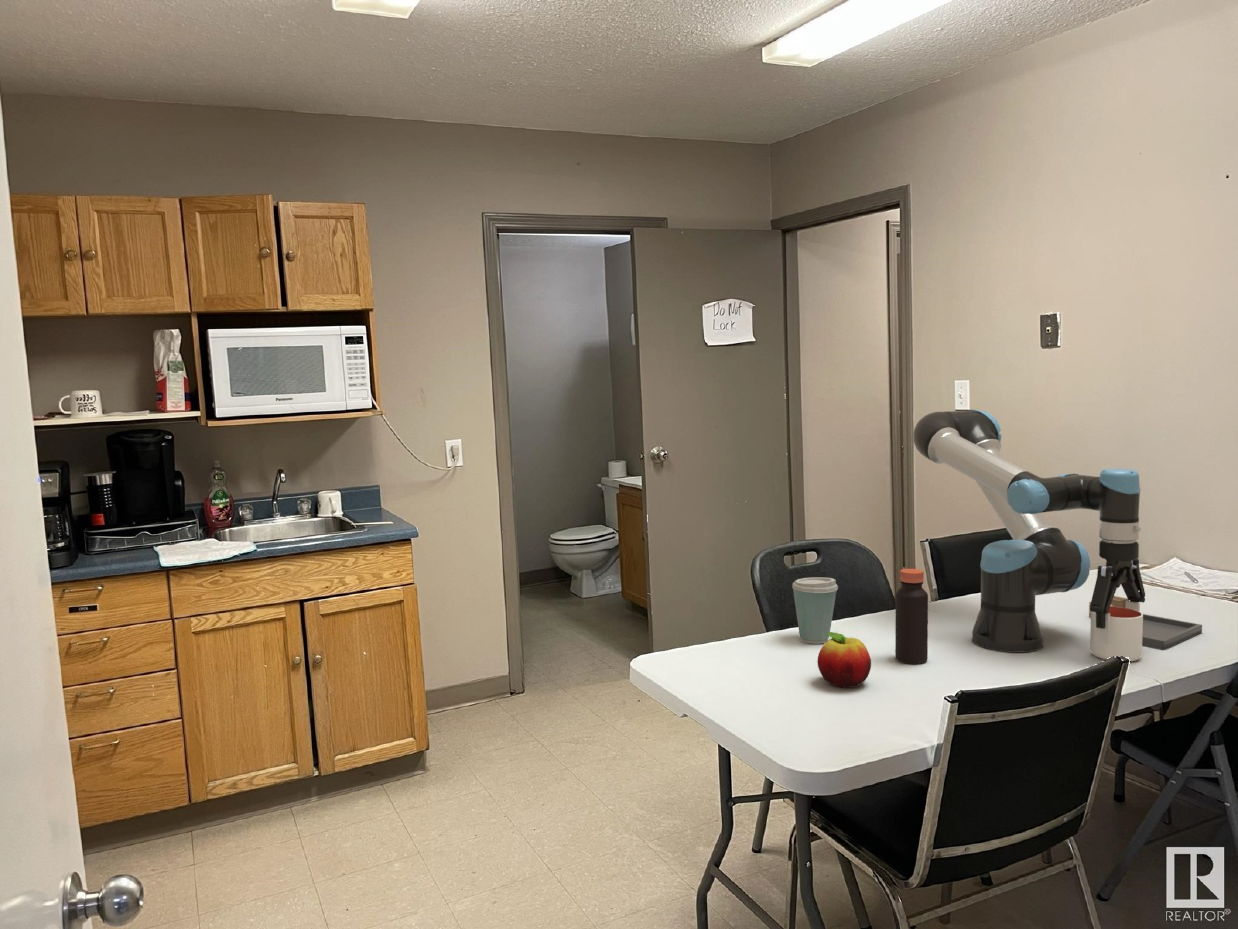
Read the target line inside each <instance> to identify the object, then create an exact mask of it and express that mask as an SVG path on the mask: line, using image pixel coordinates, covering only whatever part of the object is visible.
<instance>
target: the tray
mask: <svg viewBox="0 0 1238 929" xmlns="http://www.w3.org/2000/svg"><path fill="white" fill-rule="evenodd" d="M1142 614H1143V633H1142V647H1147V648H1152V649H1157V650H1162V651H1164V650H1168V649H1170V648H1172V647H1174V646H1176V645H1179V644H1181V643H1183V642H1185V641H1187V640H1190V639H1192V638H1194V637H1196V636H1199V635H1200V634H1202V633H1203V624H1200V623H1195V622H1189V621H1183V620H1179V619H1173V618H1168V617H1163V616H1156V615H1152V614H1146V613H1142Z"/></svg>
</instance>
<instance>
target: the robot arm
mask: <svg viewBox="0 0 1238 929" xmlns="http://www.w3.org/2000/svg"><path fill="white" fill-rule="evenodd" d="M1001 431H1002V430H1001V426H1000V424H999V422H998V420H997V419H996V418H995V417H994V416H993V415H992V413H990V412H987V411H986V410H985V411H984V410H980V409H965V410H954V411H953V410H952V411H950V410H949V411H935V412H930V413H928V414H926V415H924V416H923V417H922V418H920V419H919V420H918V422H917V423H916V425H915V427H914V429H913V434H912V438H913V444H914V446H915V448H916V450H917V451H918V452H919V453H920V454H921V455H922V456H923V457H924V458H926V459H928V460H930V461H931V462H933V463H935V464H938V465H939V464H941V465H943V464H945V465H947V466H949V467H951V468H952V469H954V470H956V471H958V472H960V473H961V474H962V475H963V474H964V475H965V476H967V477H969V478H971V479H972V480H974V481H975V482H976V483H977V485H978V486H979V488H980V490H981V491H982V493H983V495H984V496H985V498H986V499H987V501H988V502H989V504H990V505H991V507H992V509H993V511H995V513H996V514H997V516H998V518H999V519H1000V521H1001V523H1002V524H1003V525H1004V527H1005V529H1006V531H1007V532H1008V534H1009V535H1010V537H1011V538H1012V539H1009V540H1008V539H1004V540H1003V539H1002V540H998V541H993V542H991V543H988V544H987V545H985V546H984V547H983V549H982V551H981V560H980V562H979V563H980V564H979V567H980V609H979V612H978V614H977V617H976V620H975V622H974V625H973V628H972V632H971V635H972V636H971V639H972V642H973V643H974V644H975V645H977V646H978V647H979V646H980V647H982V648H985V649H989V650H992V651H993V650H994V651H998V652H1005V653H1006V652H1008V653H1009V652H1010V653H1028V652H1033V651H1038V650H1041V649H1042V648H1043V647H1044V636H1043V633H1042V630H1041V627H1040V626H1041V625H1040V623H1039V621H1038V616H1037V614H1036V596H1042V595H1048V594H1055V593H1056V594H1057V593H1066V592H1070V591H1073V590H1077V589H1079V588H1080V587H1082V586H1083V585H1084V584H1085V583H1086V582H1087V580H1088V578H1089V576H1090V573H1091V572H1090V568H1091V560H1090V559H1091V558H1090V556H1089V553H1088V550H1087V549H1086V548H1085V546H1084V545H1083V544H1082V543H1081V542H1078V541H1076V540H1072V539H1067V538H1066V537H1065V535H1064V534H1063V532H1062V531H1061V530H1060V528H1059V527H1057V526H1054V525H1053V526H1052V525H1049V524H1048V522H1047V520H1046V519H1045V518H1044V516H1043V515H1042V513H1051V512H1062V511H1070V510H1076V509H1077V510H1079V509H1080V510H1091V511H1097V512H1098V511H1099V529H1098V530H1099V533H1098V535H1099V536H1098V537H1099V538H1100V539H1101V540H1100V541H1099V546H1098V547H1099V548H1098V550H1099V552H1098V553H1099V555H1098V556H1099V557H1100V558H1101V559H1102V560H1103V559H1104V560H1105V561H1106V562H1105V566H1104V565H1098V566H1097V574H1096V579H1095V580H1096V581H1095V584H1094V588H1093V592H1092V597H1091V601H1090V602H1091V604H1090V611H1091V612H1096V625H1095V642H1100V643H1105V644H1110V613H1108V610H1109V608H1110V605H1111V602H1112V600H1113V597H1114V596H1115V593H1116V592H1117V589H1119V588H1120V586H1121V587H1122V589H1123V591H1124V594H1125V596H1126V598H1127V599H1128V600H1129V601H1126V607H1125V608H1129V609H1133V610H1136V611H1139V612H1141V610H1140V609H1141V607H1140V606H1141V603H1145V601H1146V591H1145V586H1144V583H1143V578H1142V575H1141V574H1142V573H1141V571H1140V559H1139V554H1140V552H1139V551H1140V550H1139V549H1140V544H1139V542H1138V540H1139V538H1140V537H1139V536H1140V532H1141V530H1142V529H1141V527H1140V517H1139V516H1140V499H1141V497H1140V495H1141V484H1140V483H1141V482H1140V475H1139V472H1138V471H1137V470H1135V469H1131V468H1104V469H1103V470H1101V471H1100V473H1099V475H1100V476H1094V475H1086V474H1085V475H1083V474H1078V473H1062V474H1060V475H1058V476H1053V477H1040V476H1038V475H1037V474H1036V475H1035V473H1032V472H1030V471H1028V470H1026V469H1024V468H1022V467H1020V466H1018V465H1016V464H1015V463H1013V462H1010V461H1009V460H1007V459H1005V458H1004V457H1003V455H1002V454H1001V452H1000V451H1001V449H1002V443H1001V441H1002V434H1001V433H1000V432H1001Z"/></svg>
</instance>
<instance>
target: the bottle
mask: <svg viewBox="0 0 1238 929" xmlns="http://www.w3.org/2000/svg"><path fill="white" fill-rule="evenodd" d="M924 573H925V572H924V570H922V569H919V568H902V569H900V570H899V580H900V581H899V582H900V584H901V586H900V587H899V588H898V589H897V591H896V592H895V624H894V625H895V628H894V629H895V632H894V633H895V638H894V639H895V641H894V642H895V647H894V648H895V650H894V652H895V660H896V661H898V662H900V663H902V664H908V665H922V664H924V663H926V662H927V661H928V658H929V656H928V653H929V652H928V647H929V644H928V641H929V640H928V639H929V637H928V636H929V635H928V634H929V632H928V630H929V629H928V628H929V627H928V626H929V625H928V624H929V620H928V619H929V594H928V592H927V591H926V589H924V588H923V584H924V576H925V575H924Z"/></svg>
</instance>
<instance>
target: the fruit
mask: <svg viewBox="0 0 1238 929" xmlns="http://www.w3.org/2000/svg"><path fill="white" fill-rule="evenodd" d="M827 635H828V636H829V638H831V639H828V641H827V642H826V643H823V645H822V646H821V648H820V650H819V653H818V656H817V661H816V662H817V668H818V670H819V673H820V675H821V676H822V678H823V679H824V681H826V682H827V683H828V684H829V685H831V686H833V687H836V688H837V687H838V688H846V689H847V688H855V687H858V686H860V685H861V684H862V683H864V682H865V681H866V680H867V678H868V676H869V675H870V672H871V669H872V659H871V655H870V653H869V651H868V648H867V647H866V645H865V643H864V642H862V641H861V640H860V639H858V638H856V637H845V635H844V634H842V633H838V632H834V631H830V632H828V633H827Z"/></svg>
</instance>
